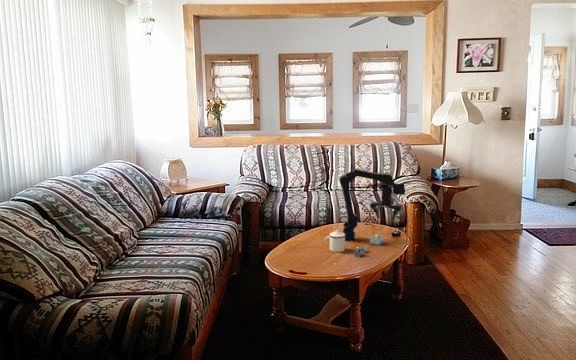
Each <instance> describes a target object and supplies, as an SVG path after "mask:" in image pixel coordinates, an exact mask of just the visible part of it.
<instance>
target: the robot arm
mask: <svg viewBox="0 0 576 360" xmlns="http://www.w3.org/2000/svg"><path fill="white" fill-rule="evenodd" d="M357 177H360V178H365V179H369V180H375V181H378V182H380V184H379V185H378V188H380V189H381V197H380V198H381V203H380V202H379V201H372V202H371V203H369V208H370V209H371V210H373V212H374V213H375V215H376V218H377V220H380V208H386V209H393V211H392V222H394V221H396V220H395V219H396V217H397V214H398V213H399V212H401V211H403V210H404V206H403V204H401V203H396V204H395V198H393V195H392V194H394V195H395V196H397V195H399V196H404V195H405V194H406V188H405V183H404V182H401V183H396V182H394V181H393V179H394V178H393V177H392V175H391V174H389V173H387V172H380V173H379V172H372V171H367V170H363V169H358V168H355V169H354V168H353V170H351V171H349V172H347V173H345V174H342V175H340V176H339V178H338V181H339V184H340V186H341V189H342V192H343V198H344V203H345V209H346V221H345V223H343V229H342V233H344V234H345V235H346V236H345V242H346V241H347V242H354V240H355V238H356V232H355V228H357V227H358V223H359V221H358V215H357V213H354V208H353V203H352V198H351V193H350V184H351V182H352V181H353V180H355V179H356V178H357Z"/></svg>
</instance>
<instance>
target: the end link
mask: <svg viewBox="0 0 576 360" xmlns="http://www.w3.org/2000/svg"><path fill="white" fill-rule="evenodd" d="M375 235H376V234H373V235H372V236H370V237H369V244H370V243H371V244H378V245H380V244H382V243H383V241H384V235H379V238H375Z"/></svg>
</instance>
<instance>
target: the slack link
mask: <svg viewBox="0 0 576 360" xmlns="http://www.w3.org/2000/svg"><path fill="white" fill-rule="evenodd" d="M359 247H360V250H363V254H365V253H366V252H368V247H367V246H365V245H364V246H363V245H362V246H359Z"/></svg>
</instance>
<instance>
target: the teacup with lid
mask: <svg viewBox="0 0 576 360" xmlns="http://www.w3.org/2000/svg"><path fill="white" fill-rule="evenodd" d="M345 236H346V235H345V234H344V233H343V231H342V232H341V231H340V229H336V230H334V231H333V232H330V233H329V234H328V236H326V237H324V242H325V243H326V245H328V246H329V251H331V252H334V253H341V252H344V251H346V241H345ZM327 238H328V239H329V241H327V240H328V239H327Z"/></svg>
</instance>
